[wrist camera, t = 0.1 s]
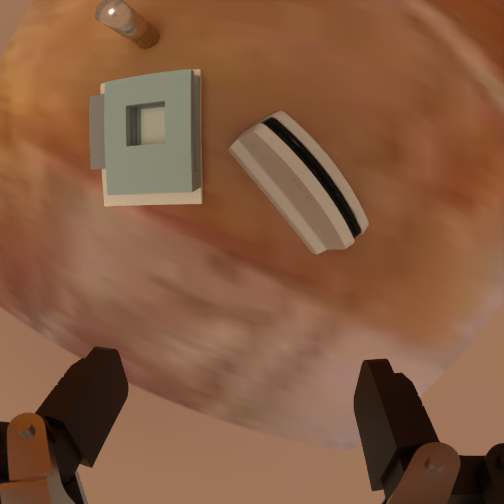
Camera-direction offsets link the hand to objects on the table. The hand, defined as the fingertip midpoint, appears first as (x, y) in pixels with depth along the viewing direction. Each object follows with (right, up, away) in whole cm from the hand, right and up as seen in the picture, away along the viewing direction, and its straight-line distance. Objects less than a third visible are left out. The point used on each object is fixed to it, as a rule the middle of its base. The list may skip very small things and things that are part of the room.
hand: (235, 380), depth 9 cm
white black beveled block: (+6, +12, +27) cm, 30 cm away
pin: (-12, +30, +21) cm, 39 cm away
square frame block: (-12, +18, +26) cm, 33 cm away
